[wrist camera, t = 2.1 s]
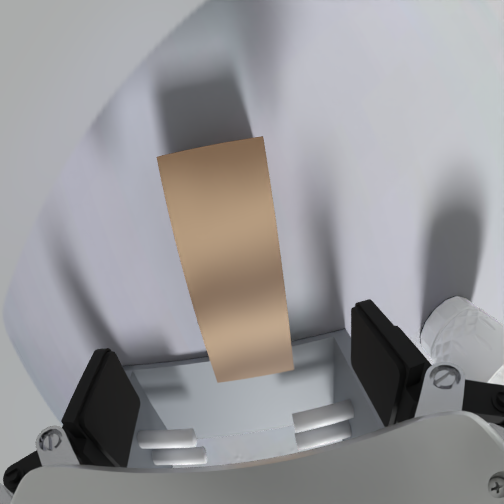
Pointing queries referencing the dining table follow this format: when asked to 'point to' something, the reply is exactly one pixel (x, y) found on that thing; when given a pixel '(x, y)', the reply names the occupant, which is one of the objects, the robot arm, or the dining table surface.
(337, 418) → the peg frame
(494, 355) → the white cup
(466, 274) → the dining table surface
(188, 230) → the shelf board
